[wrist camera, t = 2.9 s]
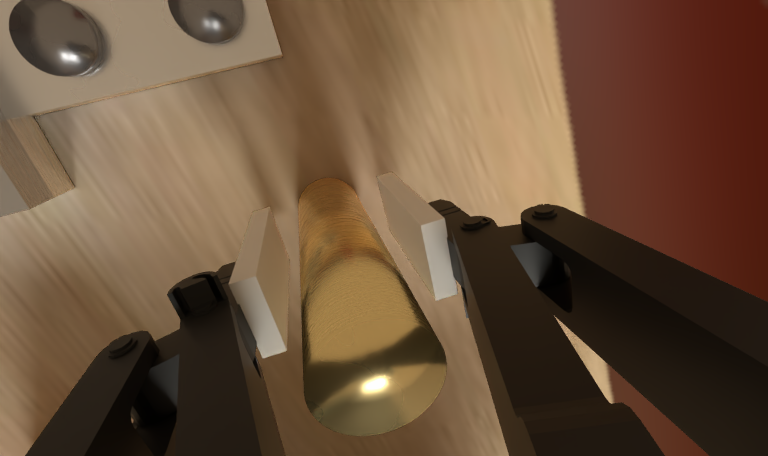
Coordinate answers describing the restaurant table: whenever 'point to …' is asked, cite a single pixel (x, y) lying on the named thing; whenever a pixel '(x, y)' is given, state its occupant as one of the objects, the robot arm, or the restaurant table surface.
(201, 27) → the studded slotted bracket
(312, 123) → the restaurant table surface
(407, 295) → the brass pin
